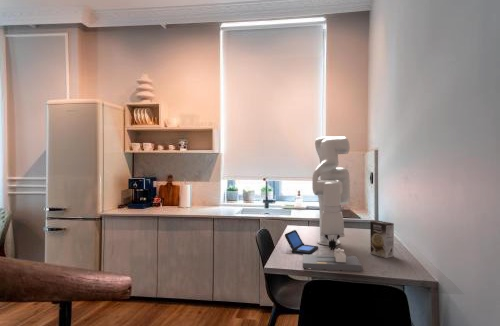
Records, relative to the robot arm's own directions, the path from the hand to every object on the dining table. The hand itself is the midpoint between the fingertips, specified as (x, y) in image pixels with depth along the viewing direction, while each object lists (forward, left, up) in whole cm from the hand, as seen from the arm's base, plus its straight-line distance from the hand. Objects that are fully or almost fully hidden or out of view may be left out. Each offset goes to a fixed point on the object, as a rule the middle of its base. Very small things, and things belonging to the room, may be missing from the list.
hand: (332, 249), depth 151 cm
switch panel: (+4, -1, -6) cm, 7 cm away
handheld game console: (-20, -14, -7) cm, 25 cm away
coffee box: (-16, +25, -6) cm, 30 cm away
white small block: (+8, +3, -3) cm, 9 cm away
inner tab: (+1, +3, -3) cm, 4 cm away
